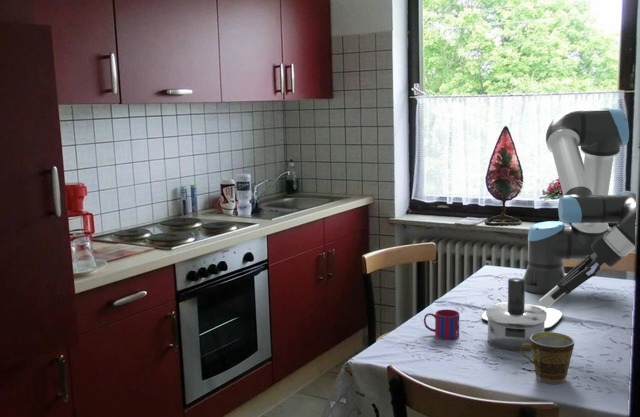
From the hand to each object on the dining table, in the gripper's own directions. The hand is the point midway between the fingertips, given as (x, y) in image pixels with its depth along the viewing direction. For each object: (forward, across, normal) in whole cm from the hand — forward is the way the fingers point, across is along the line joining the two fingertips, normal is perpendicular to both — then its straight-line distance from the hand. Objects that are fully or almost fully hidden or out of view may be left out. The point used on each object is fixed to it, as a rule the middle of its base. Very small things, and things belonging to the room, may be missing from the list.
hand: (543, 304), depth 181 cm
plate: (+13, -20, +4) cm, 24 cm away
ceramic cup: (+8, +24, +8) cm, 27 cm away
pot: (+13, 0, +3) cm, 13 cm away
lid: (+8, 0, -2) cm, 8 cm away
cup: (+27, 0, -11) cm, 30 cm away
